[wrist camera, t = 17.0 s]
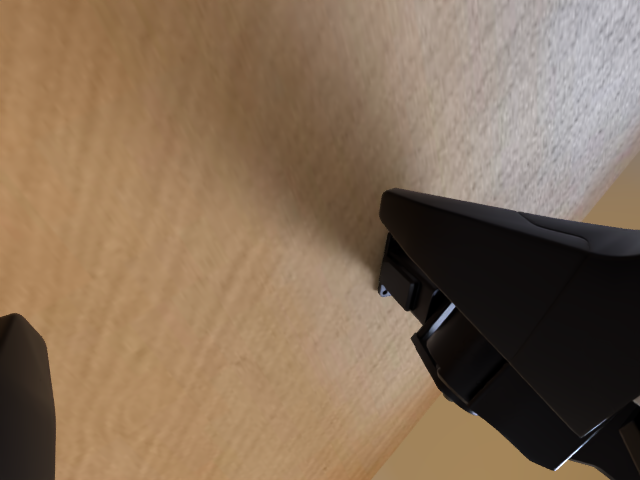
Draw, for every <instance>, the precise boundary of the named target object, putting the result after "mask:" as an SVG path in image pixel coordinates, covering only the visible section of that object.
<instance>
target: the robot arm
mask: <svg viewBox="0 0 640 480" xmlns="http://www.w3.org/2000/svg"><path fill="white" fill-rule="evenodd" d="M379 217H380V220H381V221H382V223H383V224H384V225H385V227H386V228H387V229H388V231H389V233H388V235H387V240H386V246H385V252H384V257H383V261H382V267H381V273H380V278H379V287H378V293H379V295H380V296H381V297H386V296H391V295H392V296H393V297H394V299H395V300H396V301H397V302H398V303H399V304H400V305H401V306H402V308H403V309H404V310H405V311H411V313H412V314H413V315H414V316H415V317H416V318H417V319H418V320H419V321H420V322H421V324H422V325H423V326H422V327H421V328H420V329H419V331H418V332H417V333H414V335H413V336H412V337H411V340H412V342H413V343H414V345H415V348H416V350H417V352H418V354H419V355H420V357H421V359H422V361H423V362H424V364H425V366H426V368H427V370H428V371H429V373H430V375H431V377H432V378H433V380H434V382H435V384H436V386H437V387H438V389H439V390H440V391H441V392H442V393H443V395H444V397H445V398H446V399H447V400H449V401H451V402H454V403H456V404H457V405H458V406H459V407H461V408H462V409H464V410H465V411H467V412H469V413H471V414H473V415H478V416H480V417H481V418H483V419H484V420H485V421H487V422H488V423H489V424H490V425H492V426H493V427H494V428H495V429H496V430H498V431H499V432H500V433H501V434H502V435H503V436H504V437H505V438H506V439H507V440H509V441H510V442H511V443H512V444H513V445H514V446H515V447H516V448H517V449H518V450H519V451H520V452H521V453H522V454H523V455H524V456H525V457H526V458H528V459H529V460H530V461H532V462H534V463H536V464H538V465H541V466H543V467H545V468H547V469H550V470H553V471H556V470H557V469H558V468H559V467H560V466H561V465H562V464H563V463H565V462H566V461H567V460H571V461H574V462H578V463H582V464H585V465H589V466H592V467H595V468H596V469H597V470H599V471H600V472H601V473H603V474H604V475H605V476H607V477H608V478H609V479H610V480H640V230H631V229H622V228H616V227H609V226H603V225H596V224H589V223H583V222H576V221H570V220H563V219H557V218H551V217H546V216H540V215H535V214H529V213H524V212H516V211H513V210H508V209H503V208H498V207H493V206H487V205H482V204H477V203H472V202H467V201H461V200H456V199H451V198H446V197H441V196H435V195H430V194H425V193H420V192H415V191H410V190H404V189H399V188H393V189H389V190H386V191H385V192H383V194H382V198H381V204H380V211H379ZM393 237H394V238H393ZM384 290H385V291H384ZM383 291H384V292H383ZM55 445H56V416H55V406H54V398H53V390H52V383H51V375H50V368H49V360H48V353H47V347H46V343H45V341H44V339H43V338H42V336H41V335H40V334H39V333H38V332H37V331H36V330H35V329H34V328H33V327H32V326H31V325H30V323H29V322H28V321H27V320H26V319H25V318H24V317H23V316H22V315H20V314H17V313H12V314H9V315H6V316H3V317H0V480H55Z"/></svg>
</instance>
